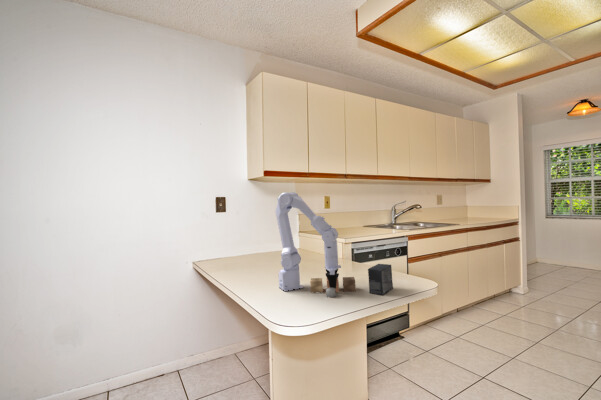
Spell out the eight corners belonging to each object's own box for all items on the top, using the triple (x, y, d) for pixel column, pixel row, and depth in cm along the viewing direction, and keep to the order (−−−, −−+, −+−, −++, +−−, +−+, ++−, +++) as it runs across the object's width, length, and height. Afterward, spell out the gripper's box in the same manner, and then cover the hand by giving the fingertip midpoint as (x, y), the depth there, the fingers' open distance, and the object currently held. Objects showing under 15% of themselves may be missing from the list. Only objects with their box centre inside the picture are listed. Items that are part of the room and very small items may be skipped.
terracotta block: (327, 292, 127) (326, 280, 127) (327, 288, 132) (326, 277, 132) (339, 292, 127) (338, 280, 127) (338, 288, 132) (337, 277, 132)
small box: (379, 286, 131) (378, 263, 131) (393, 288, 127) (392, 264, 127) (368, 293, 123) (367, 268, 123) (383, 295, 119) (381, 269, 119)
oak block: (311, 292, 128) (310, 281, 128) (311, 289, 133) (310, 278, 133) (322, 292, 127) (321, 281, 127) (322, 289, 132) (322, 277, 132)
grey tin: (329, 298, 119) (328, 291, 119) (324, 295, 123) (324, 288, 123) (337, 296, 121) (337, 289, 121) (332, 294, 125) (332, 286, 125)
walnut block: (343, 292, 126) (343, 280, 126) (343, 288, 131) (342, 277, 131) (355, 291, 126) (355, 280, 126) (354, 288, 131) (354, 276, 131)
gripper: (341, 259, 122) (343, 292, 122) (339, 252, 136) (341, 282, 136) (324, 259, 122) (325, 292, 122) (324, 253, 137) (325, 282, 137)
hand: (332, 287), depth 129 cm, fingers open, 6 cm apart
